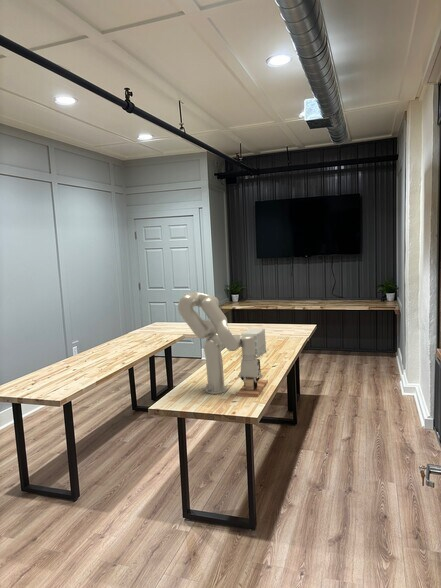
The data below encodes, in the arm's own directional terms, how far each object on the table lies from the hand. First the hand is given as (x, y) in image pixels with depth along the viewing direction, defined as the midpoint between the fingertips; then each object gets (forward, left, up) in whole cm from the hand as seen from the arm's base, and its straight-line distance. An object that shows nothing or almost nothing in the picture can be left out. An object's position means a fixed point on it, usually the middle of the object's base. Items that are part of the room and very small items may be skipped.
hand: (251, 388), depth 240 cm
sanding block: (0, 0, 0) cm, 0 cm away
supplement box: (+57, +56, -2) cm, 80 cm away
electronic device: (+22, +22, -2) cm, 31 cm away
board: (+3, +2, -2) cm, 4 cm away
